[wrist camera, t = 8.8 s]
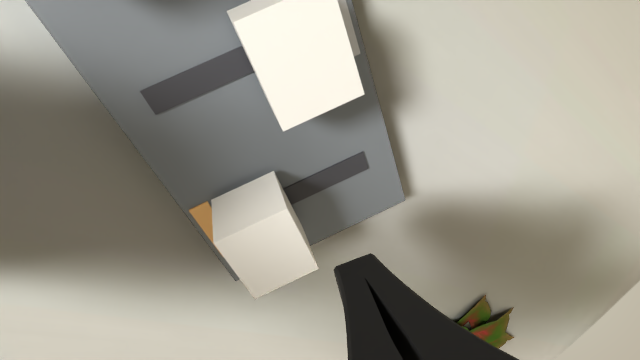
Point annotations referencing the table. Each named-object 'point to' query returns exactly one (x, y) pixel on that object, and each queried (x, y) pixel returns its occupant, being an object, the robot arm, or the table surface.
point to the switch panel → (224, 111)
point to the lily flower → (489, 331)
